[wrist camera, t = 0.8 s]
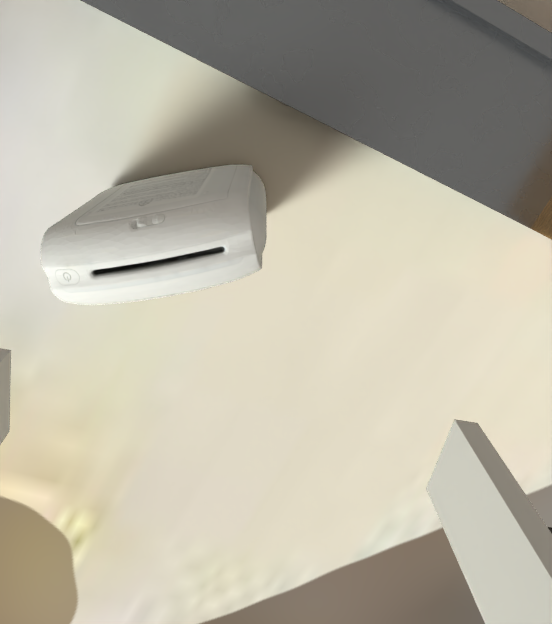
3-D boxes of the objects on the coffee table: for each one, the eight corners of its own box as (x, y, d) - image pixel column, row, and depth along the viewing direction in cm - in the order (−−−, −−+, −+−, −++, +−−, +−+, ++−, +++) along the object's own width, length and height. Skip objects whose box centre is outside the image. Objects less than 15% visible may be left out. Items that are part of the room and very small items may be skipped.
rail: (64, -9, 28) (22, -29, 23) (118, -205, 25) (84, -277, 20) (544, 235, 35) (593, 260, 30) (635, 101, 32) (707, 104, 26)
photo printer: (114, 251, 34) (43, 334, 23) (94, 185, 33) (6, 238, 21) (271, 223, 34) (278, 293, 22) (259, 155, 32) (260, 193, 21)
